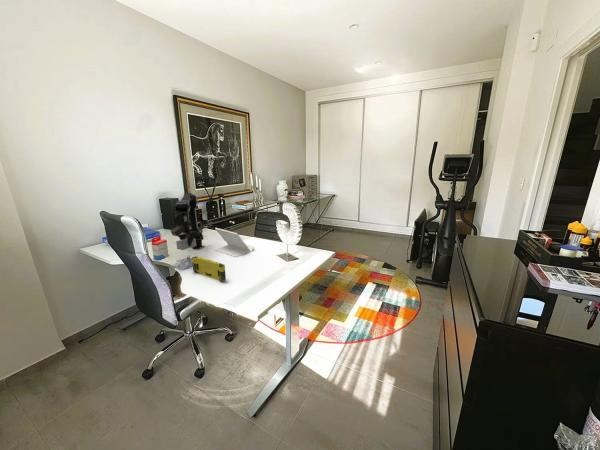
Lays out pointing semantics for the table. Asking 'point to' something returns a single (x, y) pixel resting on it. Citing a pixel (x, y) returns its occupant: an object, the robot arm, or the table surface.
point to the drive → (185, 244)
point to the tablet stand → (233, 244)
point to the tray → (183, 263)
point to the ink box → (159, 248)
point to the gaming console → (209, 268)
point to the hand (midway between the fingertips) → (186, 245)
